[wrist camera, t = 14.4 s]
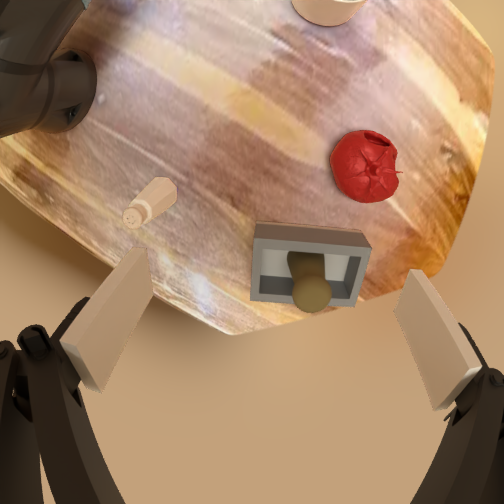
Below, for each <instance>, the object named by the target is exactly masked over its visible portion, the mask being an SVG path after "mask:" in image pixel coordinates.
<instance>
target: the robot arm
mask: <svg viewBox="0 0 504 504" xmlns="http://www.w3.org/2000/svg"><path fill="white" fill-rule="evenodd" d="M90 1H91V0H0V138H3V137H6V136H9V135H12V134H15V133H18V132H22V131H25V130H29V129H33V130H37V131H41V132H46V133H59V132H63V131H67V130H69V129H71V128H73V127H74V126H76V125H77V124H78V123H79V122H80V121H81V120H82V119H83V118H84V116H85V115H86V113H87V112H88V110H89V108H90V106H91V104H92V101H93V98H94V95H95V90H96V70H95V66H94V63H93V61H92V59H91V58H90V57H89V56H88V55H87V54H86V53H85V52H83V51H81V50H77V49H61V50H57V51H56V49H57V48H58V46H59V45H60V43H61V42H62V40H63V38H64V37H65V36H66V34H67V33H68V31H69V30H70V28H71V27H72V26H73V24H74V23H75V21H76V20H77V19H78V17H79V16H80V15H81V13H82V12H83V11H84V10H86V9H87V8H88V4H89V3H90ZM153 294H154V293H153V287H152V281H151V275H150V269H149V262H148V255H147V248H138V247H133V248H132V249H131V250H130V251H129V252H128V253H127V254H126V256H125V257H124V258H123V259H122V260H121V261H120V263H119V264H118V265H117V266H116V267H115V269H114V270H113V271H112V272H111V273H110V275H109V276H108V277H107V278H106V280H105V281H104V282H103V283H102V285H101V286H100V287H99V288H98V289H97V291H96V292H95V293H94V295H93V296H92V297H91V298H89V297H85V298H83V299H82V300H80V301H79V302H78V303H76V304H75V306H74V307H73V308H72V310H71V311H70V313H69V314H68V315H67V316H66V318H65V319H64V320H63V321H62V323H61V324H60V325H59V326H58V328H57V329H56V331H55V332H54V333H53V335H52V336H51V337H50V338H49V336H48V334H47V332H46V330H45V328H44V327H43V326H41V325H37V324H36V325H30V326H28V327H26V328H25V329H24V330H22V331H21V332H20V334H19V335H18V339H17V342H18V344H19V346H20V348H21V349H22V350H16V349H15V347H14V345H13V344H12V343H11V342H10V341H6V340H4V341H1V342H0V504H44V501H43V493H42V484H41V473H40V455H41V459H42V463H43V466H44V470H45V473H46V477H47V480H48V483H49V486H50V489H51V492H52V494H53V497H54V500H55V502H56V504H125V502H124V500H123V498H122V496H121V494H120V493H119V490H118V489H117V486H116V485H115V482H114V480H113V478H112V476H111V474H110V472H109V470H108V467H107V465H106V463H105V461H104V458H103V456H102V453H101V452H100V448H99V446H98V443H97V441H96V438H95V435H94V433H93V430H92V427H91V424H90V421H89V418H88V415H87V412H86V409H85V405H84V402H83V399H82V396H81V392H80V390H79V388H78V384H79V382H80V381H81V380H82V382H83V383H84V385H85V387H86V388H88V389H91V390H93V391H97V392H99V393H102V392H103V390H104V388H105V386H106V384H107V381H108V379H109V377H110V375H111V373H112V371H113V369H114V367H115V365H116V363H117V361H118V359H119V357H120V355H121V353H122V351H123V349H124V347H125V346H126V344H127V342H128V340H129V338H130V336H131V334H132V332H133V330H134V328H135V327H136V325H137V323H138V321H139V319H140V317H141V316H142V314H143V312H144V310H145V308H146V306H147V304H148V303H149V301H150V299H151V298H152V296H153ZM394 313H395V315H396V318H397V320H398V322H399V324H400V326H401V329H402V331H403V333H404V335H405V338H406V340H407V342H408V345H409V347H410V349H411V352H412V354H413V357H414V359H415V362H416V364H417V367H418V369H419V371H420V374H421V377H422V380H423V382H424V385H425V387H426V390H427V393H428V396H429V399H430V402H431V405H432V408H433V411H438V410H442V409H447V408H448V407H449V406H450V405H451V404H452V402H453V401H454V400H455V402H456V405H457V406H456V407H455V408H454V409H453V410H452V411H451V412H450V413H449V414H448V415H447V416H446V417H445V419H444V421H446V420H447V419H448V418H449V417H450V420H449V422H448V425H447V428H446V431H445V433H444V436H443V438H442V441H441V444H440V446H439V448H438V450H437V453H436V455H435V457H434V459H433V461H432V464H431V466H430V468H429V470H428V472H427V474H426V476H425V478H424V480H423V482H422V484H421V485H420V487H419V489H418V491H417V493H416V494H415V496H414V498H413V500H412V501H411V503H410V504H504V375H503V374H502V373H501V372H500V371H499V370H497V369H494V368H489V367H488V365H487V363H486V362H485V360H484V358H483V356H482V354H481V353H480V351H479V349H478V347H477V346H476V344H475V342H474V340H473V339H472V337H471V335H470V334H469V332H468V331H467V329H466V328H465V327H464V326H463V325H461V324H460V323H457V321H456V320H455V318H454V316H453V315H452V314H451V312H450V310H449V309H448V307H447V306H446V304H445V303H444V301H443V300H442V298H441V297H440V295H439V294H438V292H437V291H436V289H435V288H434V286H433V285H432V284H431V282H430V281H429V279H428V278H427V277H426V275H425V274H424V273H423V271H422V270H415V269H410V270H409V273H408V276H407V279H406V281H405V284H404V287H403V289H402V292H401V294H400V297H399V300H398V302H397V304H396V307H395V309H394ZM13 390H14V393H13ZM12 394H13V396H12Z"/></svg>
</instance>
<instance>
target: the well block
mask: <svg viewBox="0 0 504 504" xmlns="http://www.w3.org/2000/svg"><path fill="white" fill-rule="evenodd" d="M371 250H372V247H371V246H370V244H369V243H368V241H367V239H366V238H365V236H364V235H363V233H362V231H361V230H353V229H343V228H333V227H323V226H312V225H301V224H290V223H278V222H265V221H256V226H255V233H254V242H253V259H252V275H251V291H250V301H261V302H274V303H288V304H294V302H293V298H292V291H293V287H294V282H293V279H292V276H291V273H290V270H289V267H288V263H287V254H288V252H289V251H297V252H309V253H321V254H324V257H325V279H326V280H327V281H328V283H329V285H330V286H331V291H332V297H331V300H330V302H329V304H328V305H327V306H341V307H355V304H356V301H357V298H358V295H359V291H360V288H361V285H362V282H363V278H364V275H365V272H366V268H367V265H368V261H369V257H370V254H371Z"/></svg>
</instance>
